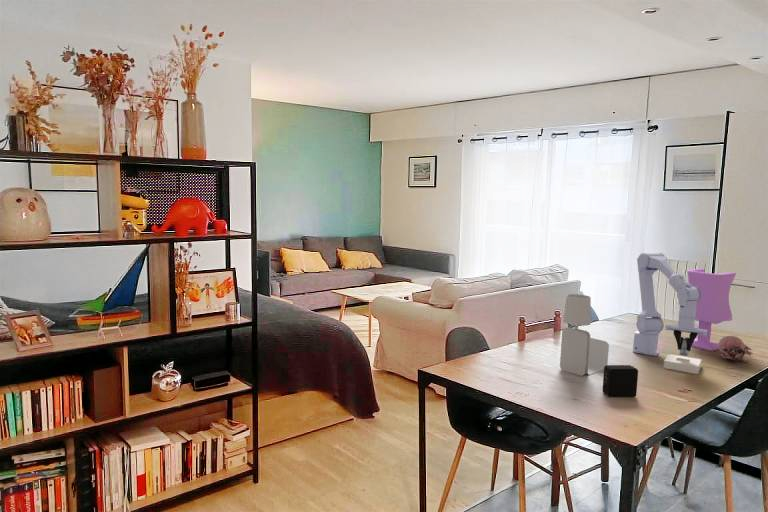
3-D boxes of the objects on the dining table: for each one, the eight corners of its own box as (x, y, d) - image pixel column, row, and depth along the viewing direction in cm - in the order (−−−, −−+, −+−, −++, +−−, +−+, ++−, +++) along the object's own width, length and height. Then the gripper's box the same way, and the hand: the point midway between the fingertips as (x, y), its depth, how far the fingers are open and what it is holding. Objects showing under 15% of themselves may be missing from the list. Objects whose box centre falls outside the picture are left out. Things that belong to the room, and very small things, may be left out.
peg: (678, 354, 218) (680, 337, 218) (680, 353, 221) (681, 336, 220) (687, 356, 216) (688, 339, 216) (688, 354, 219) (690, 337, 218)
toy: (760, 365, 219) (750, 353, 233) (753, 340, 219) (744, 330, 233) (727, 370, 224) (719, 358, 238) (720, 345, 224) (713, 335, 237)
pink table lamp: (729, 347, 251) (736, 272, 247) (712, 352, 242) (720, 274, 238) (694, 339, 264) (700, 268, 260) (677, 343, 255) (684, 270, 251)
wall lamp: (607, 368, 216) (612, 293, 212) (579, 379, 202) (584, 299, 198) (582, 361, 223) (587, 289, 220) (554, 371, 210) (559, 295, 206)
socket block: (663, 367, 218) (664, 360, 217) (667, 360, 227) (668, 353, 227) (698, 374, 211) (698, 366, 210) (700, 366, 221) (701, 359, 220)
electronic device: (602, 393, 188) (604, 365, 187) (629, 392, 189) (631, 365, 187) (608, 397, 184) (610, 369, 182) (636, 397, 184) (638, 368, 183)
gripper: (665, 315, 218) (662, 348, 219) (707, 321, 209) (703, 355, 211) (667, 313, 223) (665, 345, 225) (708, 318, 215) (705, 351, 217)
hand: (684, 349), depth 218 cm, fingers closed on peg, 3 cm apart
